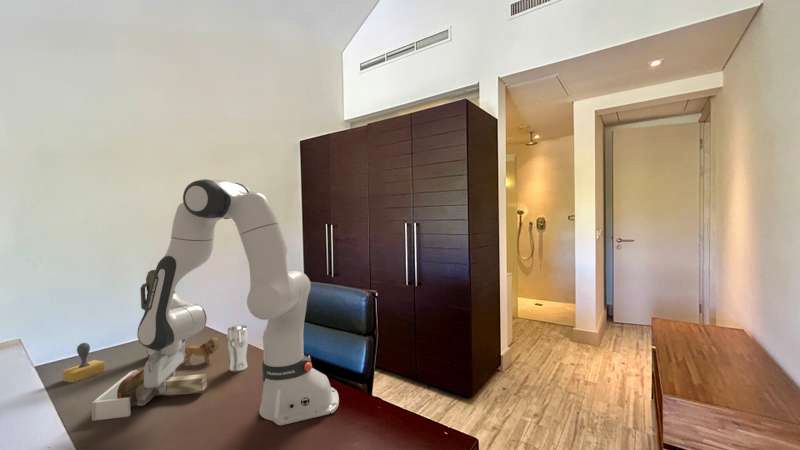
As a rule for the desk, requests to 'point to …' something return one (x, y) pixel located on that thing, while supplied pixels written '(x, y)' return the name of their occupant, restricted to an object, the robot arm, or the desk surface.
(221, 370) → the desk surface
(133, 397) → the tin
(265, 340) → the robot arm
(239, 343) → the beer glass
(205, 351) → the lion figurine
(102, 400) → the box
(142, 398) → the scraper
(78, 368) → the rubber stamp
